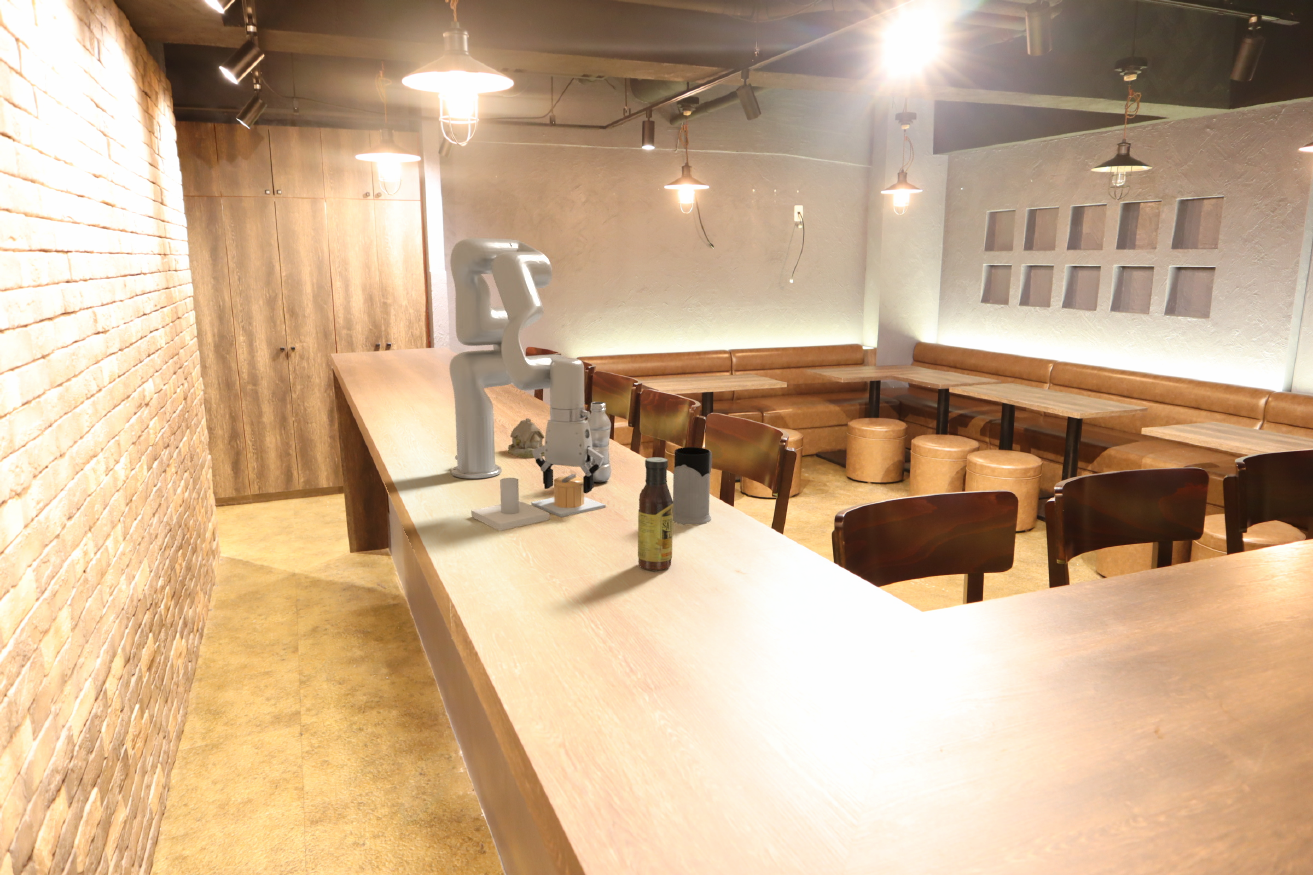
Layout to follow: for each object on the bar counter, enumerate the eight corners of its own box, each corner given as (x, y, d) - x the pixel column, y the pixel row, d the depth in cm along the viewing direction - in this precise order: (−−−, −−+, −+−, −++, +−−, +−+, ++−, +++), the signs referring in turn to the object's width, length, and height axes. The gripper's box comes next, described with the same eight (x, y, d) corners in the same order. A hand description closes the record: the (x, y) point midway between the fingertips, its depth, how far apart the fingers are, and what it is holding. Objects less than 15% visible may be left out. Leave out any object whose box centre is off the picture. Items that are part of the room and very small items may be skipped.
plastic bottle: (613, 478, 211) (613, 401, 207) (609, 485, 204) (609, 405, 200) (588, 477, 212) (587, 400, 208) (583, 484, 205) (582, 405, 201)
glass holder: (663, 520, 177) (664, 452, 174) (691, 504, 189) (693, 440, 186) (700, 527, 173) (702, 457, 170) (727, 510, 185) (729, 444, 182)
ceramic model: (501, 450, 242) (500, 416, 240) (535, 446, 248) (535, 413, 246) (521, 460, 230) (521, 424, 228) (557, 455, 237) (557, 420, 235)
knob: (562, 498, 191) (562, 472, 190) (588, 501, 189) (588, 474, 187) (549, 505, 185) (548, 478, 183) (576, 509, 183) (575, 481, 181)
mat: (531, 504, 188) (531, 502, 187) (575, 495, 195) (574, 493, 195) (560, 517, 179) (560, 514, 179) (605, 507, 186) (605, 504, 186)
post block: (471, 516, 178) (470, 478, 176) (519, 506, 186) (519, 470, 184) (499, 530, 169) (498, 490, 167) (549, 519, 177) (548, 481, 175)
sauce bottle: (668, 573, 147) (670, 465, 143) (634, 570, 148) (634, 462, 144) (675, 561, 153) (676, 456, 149) (642, 558, 154) (643, 454, 150)
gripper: (610, 414, 183) (610, 489, 187) (540, 409, 189) (541, 482, 192) (596, 420, 176) (596, 498, 180) (524, 414, 182) (525, 490, 186)
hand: (568, 489), depth 186 cm, fingers open, 9 cm apart
